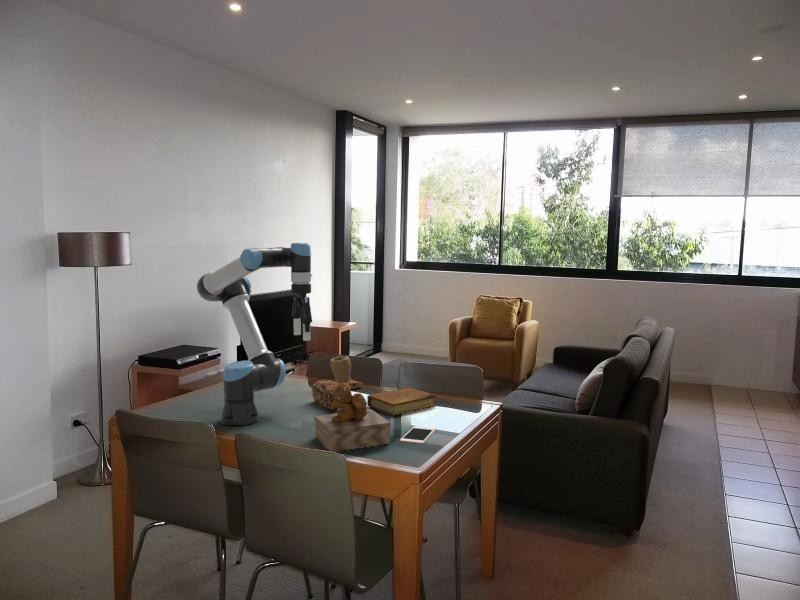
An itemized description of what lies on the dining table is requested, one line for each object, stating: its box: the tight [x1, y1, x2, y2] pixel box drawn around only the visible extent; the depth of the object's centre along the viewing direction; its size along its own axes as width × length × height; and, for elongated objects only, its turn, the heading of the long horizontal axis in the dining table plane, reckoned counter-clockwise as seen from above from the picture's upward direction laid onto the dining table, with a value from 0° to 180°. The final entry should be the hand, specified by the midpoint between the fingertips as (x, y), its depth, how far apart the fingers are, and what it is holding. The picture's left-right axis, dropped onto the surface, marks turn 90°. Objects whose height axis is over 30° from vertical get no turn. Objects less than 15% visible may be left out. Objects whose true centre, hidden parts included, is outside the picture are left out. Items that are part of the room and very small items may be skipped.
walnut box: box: [313, 408, 391, 453], centre depth 232 cm, size 23×19×8 cm
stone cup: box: [329, 355, 364, 390], centre depth 310 cm, size 15×12×15 cm
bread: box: [311, 379, 353, 411], centre depth 280 cm, size 19×11×10 cm, turn 34°
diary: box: [366, 386, 436, 417], centre depth 277 cm, size 23×19×6 cm
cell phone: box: [399, 425, 437, 445], centre depth 239 cm, size 9×18×1 cm, turn 161°
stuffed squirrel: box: [330, 382, 368, 422], centre depth 232 cm, size 10×14×13 cm
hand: (301, 337), depth 248 cm, fingers open, 13 cm apart
